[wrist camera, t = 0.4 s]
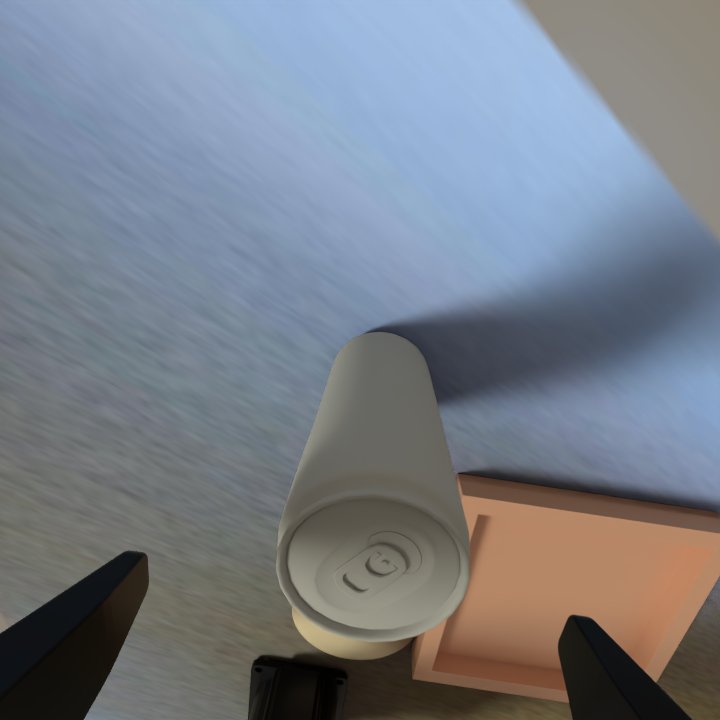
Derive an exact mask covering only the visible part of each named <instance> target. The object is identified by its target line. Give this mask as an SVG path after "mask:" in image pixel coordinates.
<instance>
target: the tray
mask: <svg viewBox="0 0 720 720" xmlns="http://www.w3.org/2000/svg"><path fill="white" fill-rule="evenodd" d="M456 482H457V486H458V490H459V494H460V498H461V502H462V506H463V510H464V514H465V518H466V522H467V526H468V530H469V540H470V557H469V565H470V580H469V584H468V587H467V590H466V593H465V597H464V599H463V600H462V601H461V603H460V604H459V606H458V607H457V608H456V610H455V611H454V612H453V614H452V615H450V616H449V617H448V618H447V619H445V620H444V621H443V622H442V623H440V624H439V625H438V626H437V627H435V628H433V629H431V630H428V631H426V632H424V633H422V634H420V635H417V636H415V637H414V640H413V644H412V648H411V662H412V679H415V680H422V681H428V682H435V683H442V684H448V685H455V686H461V687H468V688H474V689H481V690H488V691H494V692H501V693H507V694H514V695H521V696H527V697H534V698H540V699H547V700H554V701H560V702H567V703H569V699H568V695H567V690H566V686H565V682H564V677H563V673H562V668H561V664H560V659H559V655H558V641H559V638H560V635H561V633H562V631H563V628H564V626H565V623H566V621H567V619H568V617H569V616H570V615H581V616H587V617H590V618H592V619H593V620H594V621H595V622H596V623H597V624H598V625H599V626H600V627H601V628H602V629H603V630H604V631H605V632H606V633H607V634H608V635H609V636H610V637H611V638H612V639H613V640H614V641H615V642H616V643H617V644H618V645H619V646H620V647H621V648H622V649H623V650H624V651H625V652H626V653H627V654H628V655H629V656H630V657H631V658H632V659H633V660H634V661H635V662H636V663H637V664H638V665H639V666H640V667H641V668H642V669H643V670H644V671H645V672H646V673H647V674H648V675H649V676H650V677H651V678H652V679H653V680H654V681H655V682H657V680H658V679H659V677H660V675H661V674H662V672H663V670H664V669H665V667H666V665H667V664H668V662H669V660H670V659H671V657H672V655H673V653H674V652H675V650H676V648H677V647H678V645H679V643H680V642H681V640H682V638H683V637H684V635H685V633H686V632H687V630H688V628H689V626H690V625H691V623H692V621H693V620H694V618H695V616H696V615H697V613H698V611H699V610H700V608H701V606H702V605H703V603H704V601H705V600H706V598H707V596H708V594H709V593H710V591H711V589H712V588H713V586H714V584H715V583H716V581H717V579H718V578H719V576H720V515H719V514H718V513H717V512H713V511H706V510H699V509H693V508H686V507H679V506H672V505H666V504H659V503H652V502H646V501H639V500H632V499H626V498H619V497H612V496H606V495H599V494H592V493H585V492H579V491H572V490H565V489H559V488H552V487H545V486H539V485H532V484H525V483H519V482H512V481H505V480H498V479H492V478H485V477H478V476H472V475H465V474H458V473H457V477H456Z"/></svg>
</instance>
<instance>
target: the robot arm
mask: <svg viewBox="0 0 720 720" xmlns="http://www.w3.org/2000/svg"><path fill="white" fill-rule="evenodd" d="M148 585H149V573H148V558H147V555H146V554H145V553H143V552H137V551H125V552H123V553H121V554H120V555H118V556H117V557H115V558H114V559H112V560H111V561H109V562H108V563H106V564H105V565H103V566H102V567H100V568H99V569H97V570H96V571H94V572H93V573H91V574H90V575H88V576H87V577H85V578H84V579H82V580H81V581H79V582H78V583H76V584H75V585H73V586H72V587H70V588H68V589H67V590H65V591H64V592H62V593H61V594H59V595H58V596H56V597H55V598H53V599H52V600H50V601H49V602H47V603H46V604H44V605H43V606H41V607H40V608H38V609H37V610H35V611H34V612H32V613H31V614H29V615H28V616H26V617H25V618H23V619H22V620H20V621H18V622H17V623H15V624H14V625H12V626H11V627H9V628H8V629H6V630H5V631H3V632H2V633H0V720H84V718H85V716H86V715H87V713H88V711H89V709H90V708H91V706H92V704H93V702H94V701H95V699H96V697H97V695H98V693H99V692H100V690H101V688H102V686H103V685H104V683H105V681H106V679H107V677H108V675H109V673H110V672H111V669H112V667H113V665H114V663H115V661H116V659H117V657H118V655H119V652H120V650H121V648H122V646H123V644H124V641H125V639H126V637H127V635H128V632H129V630H130V628H131V626H132V624H133V621H134V619H135V617H136V615H137V613H138V610H139V608H140V606H141V604H142V602H143V599H144V597H145V595H146V592H147V589H148ZM558 655H559V659H560V664H561V668H562V673H563V677H564V682H565V686H566V690H567V695H568V699H569V704H570V708H571V713H572V717H573V720H692V719H691V718H690V717H689V716H688V715H687V714H686V713H685V712H684V711H683V710H682V708H681V707H680V706H679V705H678V704H677V703H676V702H675V701H674V700H673V699H672V698H671V697H670V696H669V695H668V694H667V693H666V692H665V691H664V690H663V689H662V688H661V687H660V686H659V685H658V684H657V683H656V682H655V681H654V680H653V679H652V678H651V677H650V676H649V675H648V674H647V673H646V672H645V671H644V670H643V669H642V668H641V667H640V666H639V665H638V664H637V663H636V662H635V661H634V660H633V659H632V658H631V657H630V656H629V655H628V654H627V653H626V652H625V651H624V650H623V649H622V648H621V647H620V646H619V645H618V644H617V643H616V642H615V641H614V640H613V639H612V638H611V637H610V636H609V635H608V634H607V633H606V632H605V631H604V630H603V629H602V628H601V627H600V626H599V625H598V624H597V623H596V622H595V621H594V620H593V619H592V618H590V617H587V616H581V615H570V616H569V617H568V619H567V621H566V623H565V626H564V628H563V631H562V633H561V635H560V638H559V641H558ZM347 680H348V675H347V674H346V673H345V672H342V671H336V670H330V669H323V668H316V667H310V666H303V665H297V664H290V663H284V662H277V661H270V660H264V659H256V660H254V662H253V665H252V668H251V682H250V697H249V712H248V720H340V719H341V713H342V708H343V703H344V698H345V693H346V687H347Z"/></svg>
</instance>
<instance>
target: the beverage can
mask: <svg viewBox="0 0 720 720" xmlns="http://www.w3.org/2000/svg"><path fill="white" fill-rule="evenodd" d="M469 557H470V540H469V530H468V526H467V522H466V518H465V514H464V510H463V506H462V502H461V498H460V494H459V490H458V486H457V482H456V477H455V473H454V469H453V465H452V461H451V457H450V453H449V449H448V445H447V441H446V437H445V433H444V429H443V425H442V421H441V417H440V413H439V409H438V405H437V401H436V397H435V393H434V389H433V385H432V381H431V377H430V372H429V369H428V366H427V363H426V361H425V358H424V356H423V355H422V354H421V352H420V351H419V350H418V348H417V347H416V346H415V345H413V344H412V343H411V342H409V341H408V340H407V339H405V338H403V337H400V336H398V335H396V334H392V333H386V332H373V333H366V334H363V335H360V336H358V337H355V338H353V339H352V340H351V341H349V342H348V343H347V344H345V345H344V346H343V347H342V349H341V350H340V352H339V353H338V355H337V356H336V359H335V361H334V364H333V367H332V370H331V373H330V376H329V379H328V382H327V385H326V389H325V392H324V395H323V398H322V401H321V404H320V407H319V410H318V413H317V416H316V419H315V422H314V425H313V428H312V431H311V433H310V436H309V439H308V442H307V445H306V447H305V450H304V453H303V456H302V458H301V461H300V464H299V467H298V469H297V472H296V475H295V478H294V481H293V484H292V487H291V490H290V493H289V496H288V499H287V502H286V505H285V508H284V511H283V514H282V517H281V521H280V525H279V535H278V549H277V561H276V571H277V575H278V579H279V583H280V587H281V589H282V591H283V592H284V594H285V596H286V597H287V599H288V601H289V602H290V604H291V605H292V606H293V607H294V608H295V609H296V610H297V611H298V612H299V613H300V614H301V615H302V616H303V617H304V618H305V619H306V620H308V621H310V622H312V623H313V624H315V625H317V626H318V627H320V628H322V629H323V630H325V631H328V632H330V633H333V634H336V635H339V636H342V637H345V638H348V639H354V640H361V641H368V642H384V641H397V640H401V639H406V638H410V637H414V636H417V635H420V634H422V633H424V632H426V631H428V630H431V629H433V628H435V627H437V626H438V625H439V624H440V623H442V622H443V621H444V620H445V619H447V618H448V617H449V616H450V615H452V614H453V612H454V611H455V610H456V608H457V607H458V606H459V604H460V603H461V601H462V600H463V599H464V597H465V593H466V590H467V587H468V584H469V580H470V565H469Z"/></svg>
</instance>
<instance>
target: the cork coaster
mask: <svg viewBox="0 0 720 720" xmlns="http://www.w3.org/2000/svg"><path fill="white" fill-rule="evenodd" d="M292 615H293V620H294V623H295V625H296V627H297V629H298V630H299V632H300V633H301V635H302V636H303V637H304V638H305V639H306V640H307V641H308V642H310V643H311V644H312V645H313V646H315V647H316V648H318V649H320V650H322V651H324V652H326V653H328V654H331V655H334V656H337V657H341V658H346V659H353V660H369V659H377V658H381V657H385V656H388V655H391V654H393V653H395V652H397V651H399V650H401V649H402V648H404V647H405V646H406V645H407V644H408V643H410V642H411V640H412V639H413V638H414V637H415V636H414V637H410V638H406V639H401V640H397V641H384V642H368V641H361V640H354V639H348V638H345V637H342V636H339V635H336V634H333V633H330V632H328V631H325V630H323V629H322V628H320V627H318V626H317V625H315V624H313V623H312V622H310V621H308V620H306V619H305V618H304V617H303V616H302V615H301V614H300V613H299V612H298V611H297V610H296V609H295V608H294V607H293V606H292Z"/></svg>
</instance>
